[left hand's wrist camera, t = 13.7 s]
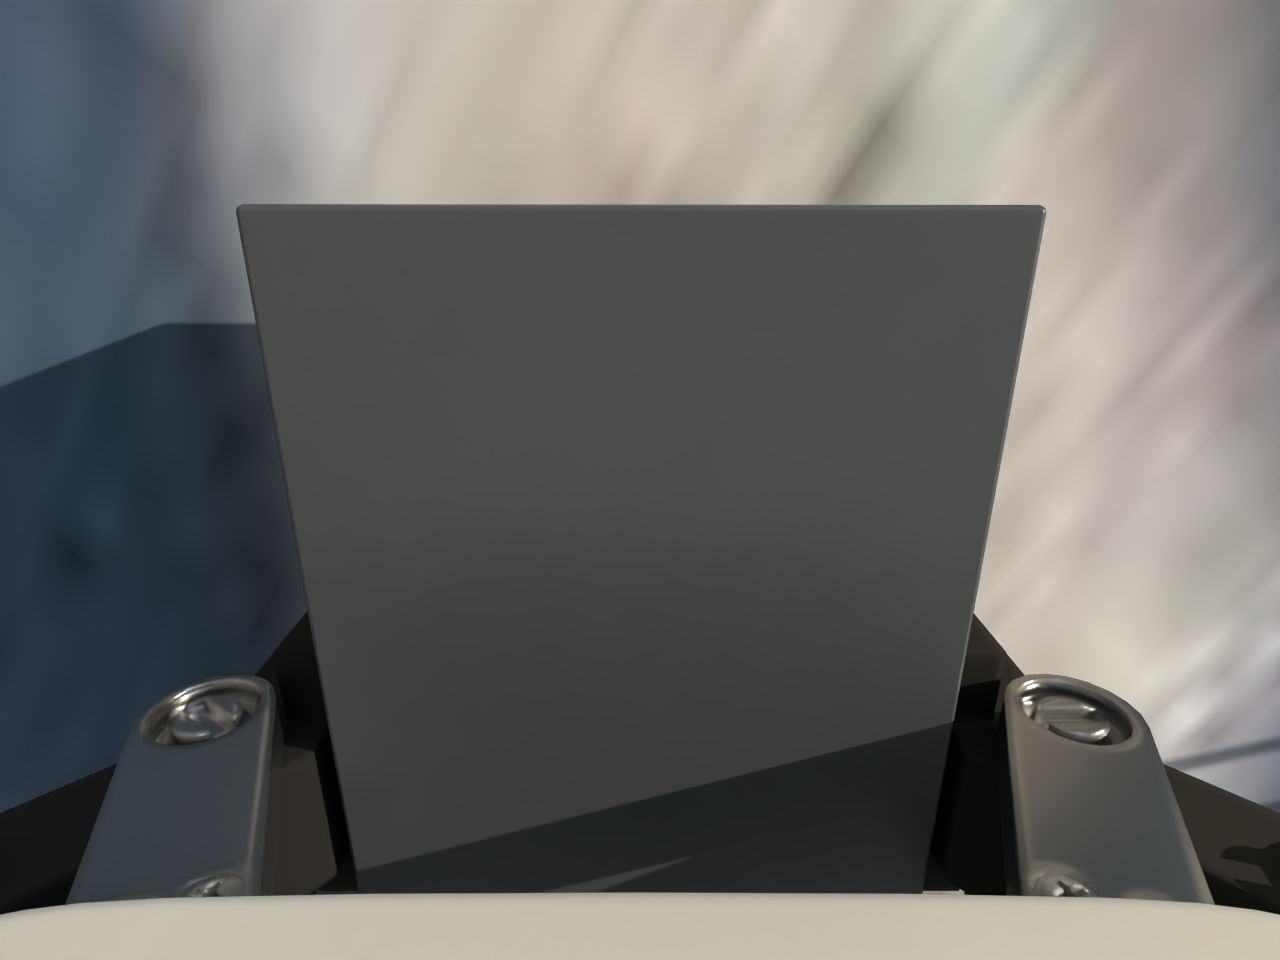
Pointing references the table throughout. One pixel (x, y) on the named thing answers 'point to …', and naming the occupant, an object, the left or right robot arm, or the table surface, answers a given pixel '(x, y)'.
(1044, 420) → the table surface
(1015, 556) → the table surface
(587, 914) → the left robot arm
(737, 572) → the post
